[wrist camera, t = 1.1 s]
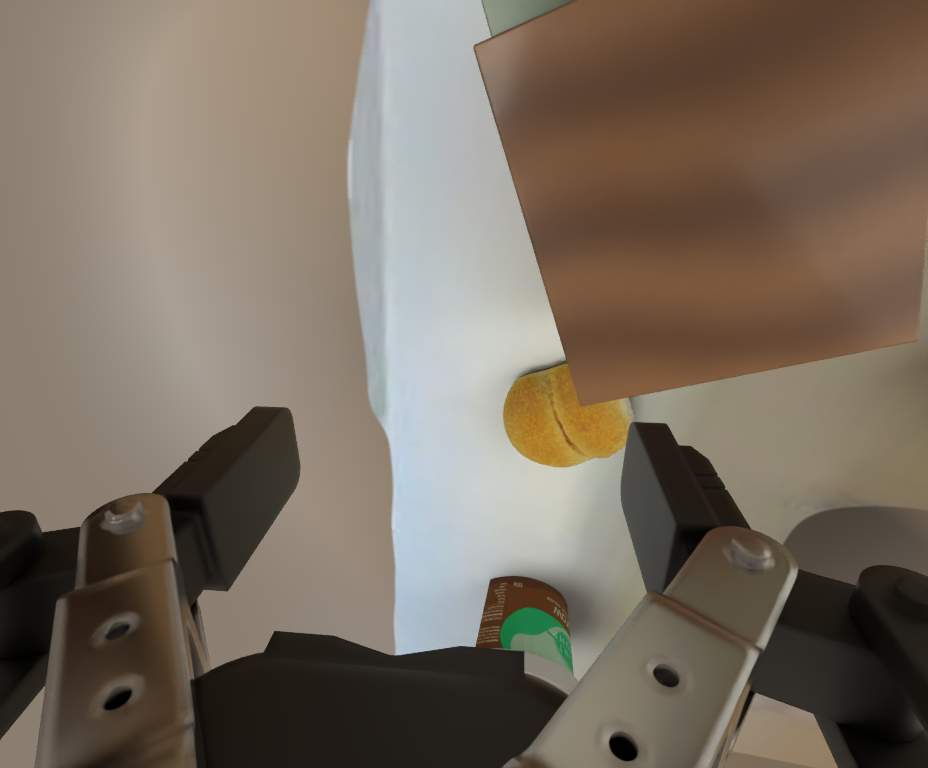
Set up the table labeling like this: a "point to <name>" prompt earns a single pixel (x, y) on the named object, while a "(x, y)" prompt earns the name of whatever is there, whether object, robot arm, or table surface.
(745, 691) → the robot arm
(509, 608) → the food container
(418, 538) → the table surface
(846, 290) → the cabinet
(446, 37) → the table surface
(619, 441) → the bread roll
